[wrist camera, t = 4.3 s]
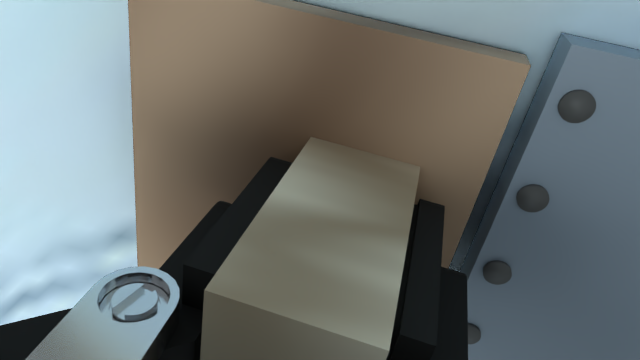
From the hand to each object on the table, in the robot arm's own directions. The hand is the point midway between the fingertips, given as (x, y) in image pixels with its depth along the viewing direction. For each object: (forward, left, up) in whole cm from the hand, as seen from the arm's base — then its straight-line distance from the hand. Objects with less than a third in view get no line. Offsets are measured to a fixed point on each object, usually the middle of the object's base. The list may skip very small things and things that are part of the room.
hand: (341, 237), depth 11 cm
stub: (+2, 0, -1) cm, 2 cm away
